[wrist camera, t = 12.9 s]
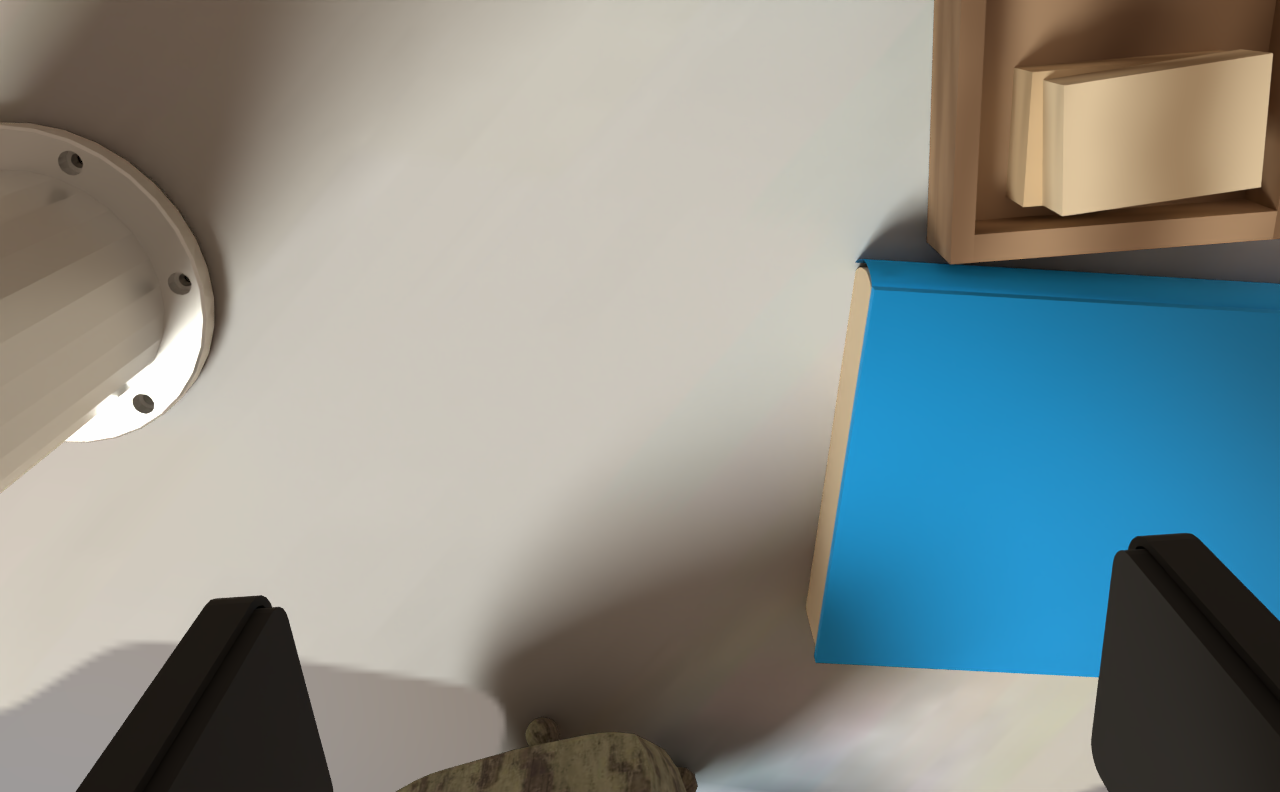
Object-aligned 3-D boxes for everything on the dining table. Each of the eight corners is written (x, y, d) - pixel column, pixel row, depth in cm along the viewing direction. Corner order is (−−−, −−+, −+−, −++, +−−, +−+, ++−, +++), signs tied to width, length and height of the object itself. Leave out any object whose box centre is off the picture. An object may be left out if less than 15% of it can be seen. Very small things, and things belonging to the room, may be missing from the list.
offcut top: (1042, 204, 35) (1062, 216, 33) (1042, 80, 33) (1064, 85, 31) (1231, 177, 34) (1261, 186, 32) (1241, 49, 32) (1273, 53, 31)
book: (1400, 692, 42) (816, 674, 41) (1334, 630, 46) (800, 612, 45) (1568, 309, 35) (873, 280, 35) (1474, 275, 39) (848, 247, 39)
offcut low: (1005, 196, 36) (1023, 207, 35) (1013, 67, 34) (1032, 72, 33) (1200, 180, 36) (1227, 190, 34) (1218, 50, 34) (1247, 53, 33)
